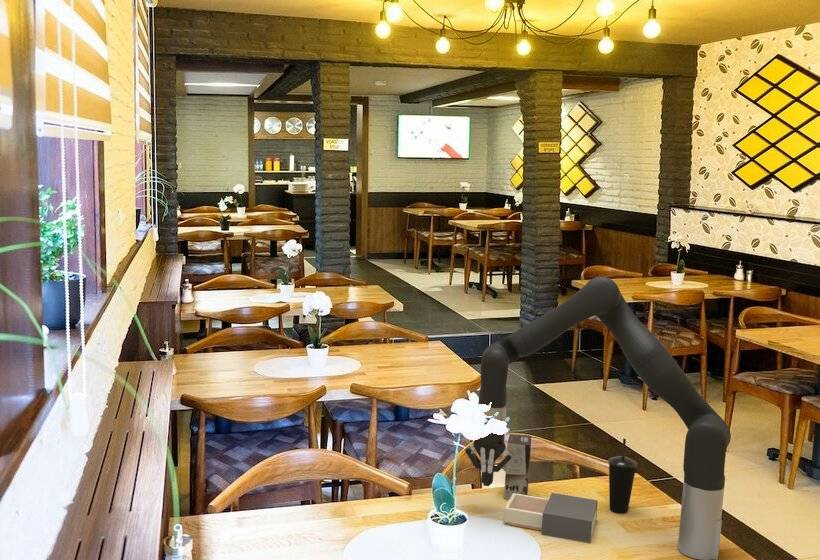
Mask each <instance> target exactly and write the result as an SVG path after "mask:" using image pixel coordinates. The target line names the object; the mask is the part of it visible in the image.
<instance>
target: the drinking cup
mask: <svg viewBox="0 0 820 560" xmlns="http://www.w3.org/2000/svg"><path fill="white" fill-rule="evenodd" d="M626 442H627V440H626V438H622V451H621V455H617V456H612V457H609V458H608V459H607V462H608V475H609V476H608V482H609V483H608V484H609V485H608V488H609V489H608V491H609V493H608V494H609V502H608V503H609V511H611V512H613V513H615V514H619V513H620V514H621V513H622V514H621V515H623V514H627V513H628V512H629V508H630V507H629V506H630V502H631V496H632V491H633V490H632V489H633V484H634V480H635V475H636V468H637V467H638V462H637V461H635V460H634V459H632V458H630V457H627V456H625V454H626V453H625V452H626Z"/></svg>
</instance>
